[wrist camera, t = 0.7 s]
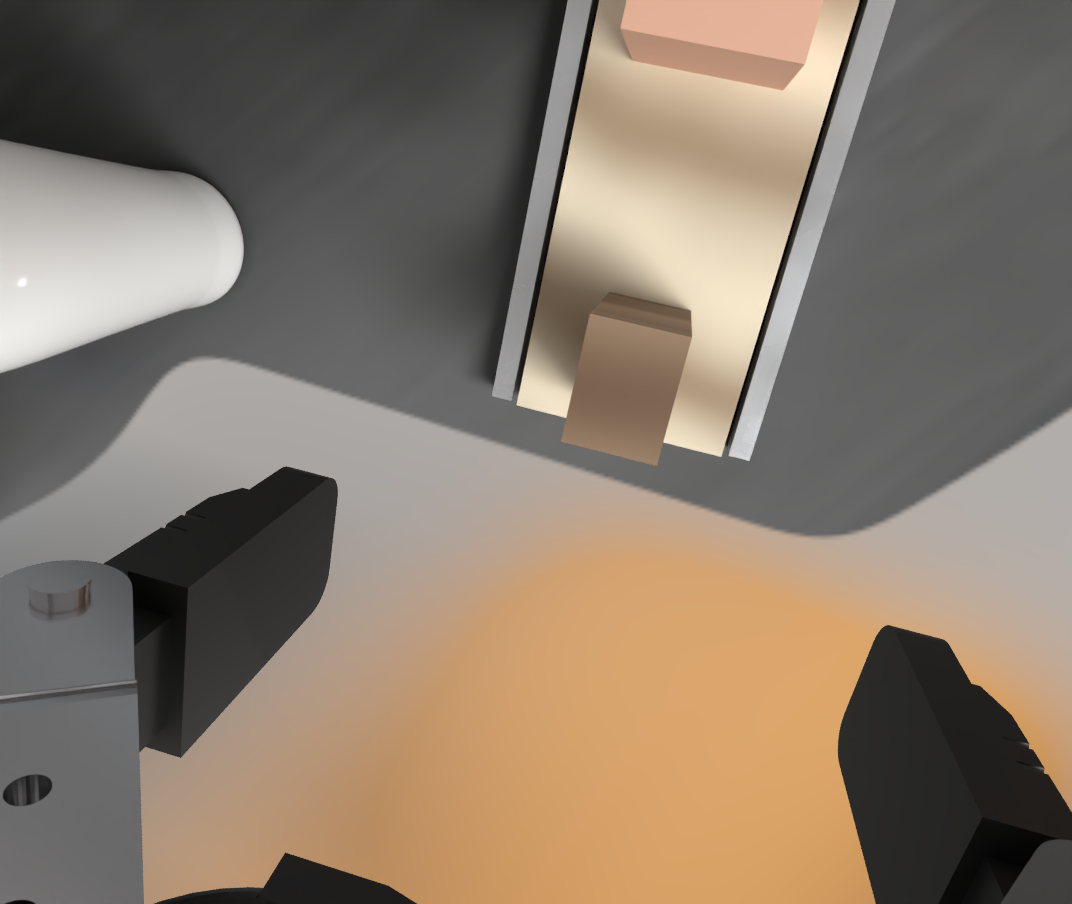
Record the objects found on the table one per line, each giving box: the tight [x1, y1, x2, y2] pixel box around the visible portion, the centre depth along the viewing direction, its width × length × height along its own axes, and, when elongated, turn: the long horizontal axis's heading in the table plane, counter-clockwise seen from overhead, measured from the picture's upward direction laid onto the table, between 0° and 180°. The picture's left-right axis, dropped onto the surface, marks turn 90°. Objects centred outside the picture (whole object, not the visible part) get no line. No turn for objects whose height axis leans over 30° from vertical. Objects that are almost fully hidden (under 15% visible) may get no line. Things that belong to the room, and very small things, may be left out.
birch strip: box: [517, 0, 860, 466], centre depth 24 cm, size 22×8×8 cm, turn 168°
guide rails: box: [492, 0, 896, 461], centre depth 27 cm, size 22×10×1 cm, turn 168°
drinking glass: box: [0, 139, 244, 373], centre depth 25 cm, size 7×7×15 cm
